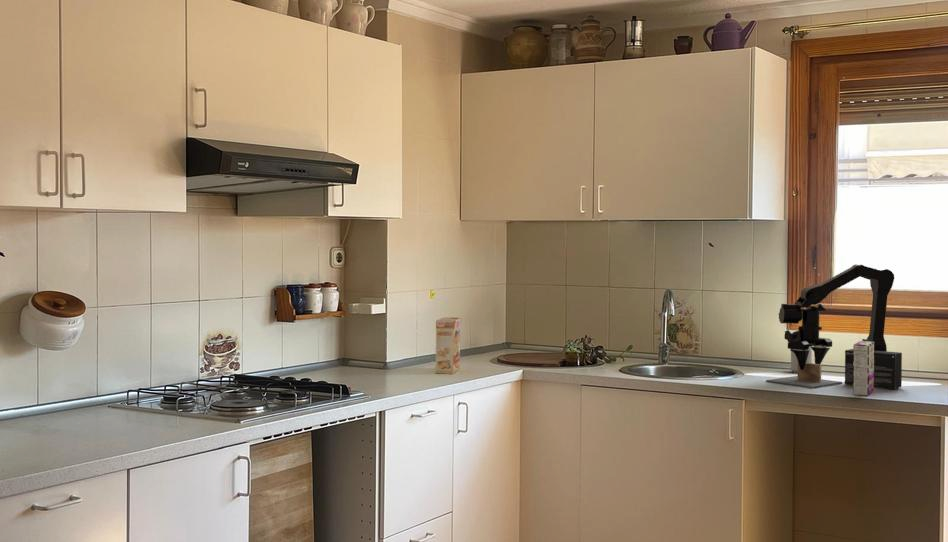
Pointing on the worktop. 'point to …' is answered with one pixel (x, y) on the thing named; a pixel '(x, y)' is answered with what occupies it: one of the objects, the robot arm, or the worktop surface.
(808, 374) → the tile
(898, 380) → the box
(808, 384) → the mat
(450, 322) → the coffeecake box
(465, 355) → the worktop surface
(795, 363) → the can
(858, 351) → the candy bar box
